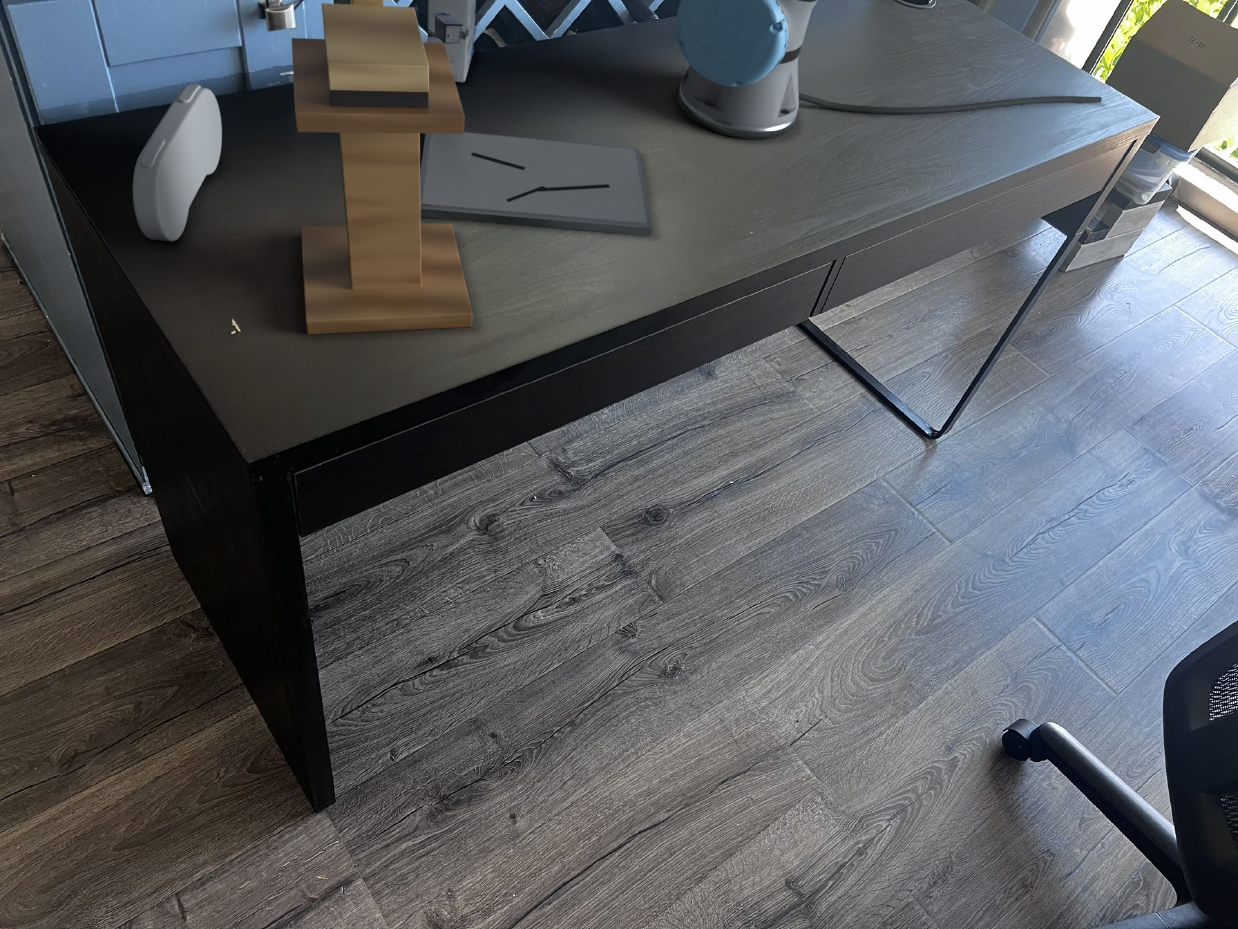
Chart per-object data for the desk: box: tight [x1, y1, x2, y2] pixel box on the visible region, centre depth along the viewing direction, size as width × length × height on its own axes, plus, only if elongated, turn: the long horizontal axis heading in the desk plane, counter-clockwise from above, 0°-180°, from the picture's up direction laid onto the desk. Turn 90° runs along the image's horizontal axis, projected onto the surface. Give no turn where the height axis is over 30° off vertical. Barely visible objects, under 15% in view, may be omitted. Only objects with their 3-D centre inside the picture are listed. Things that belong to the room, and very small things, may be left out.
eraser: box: [321, 0, 429, 108], centre depth 75 cm, size 22×7×4 cm, turn 14°
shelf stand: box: [291, 37, 473, 335], centre depth 79 cm, size 14×14×20 cm
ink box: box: [426, 0, 477, 83], centre depth 113 cm, size 9×5×12 cm, turn 179°
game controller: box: [132, 83, 223, 242], centre depth 88 cm, size 20×2×8 cm, turn 1°
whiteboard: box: [420, 131, 654, 237], centre depth 101 cm, size 24×16×1 cm, turn 94°
